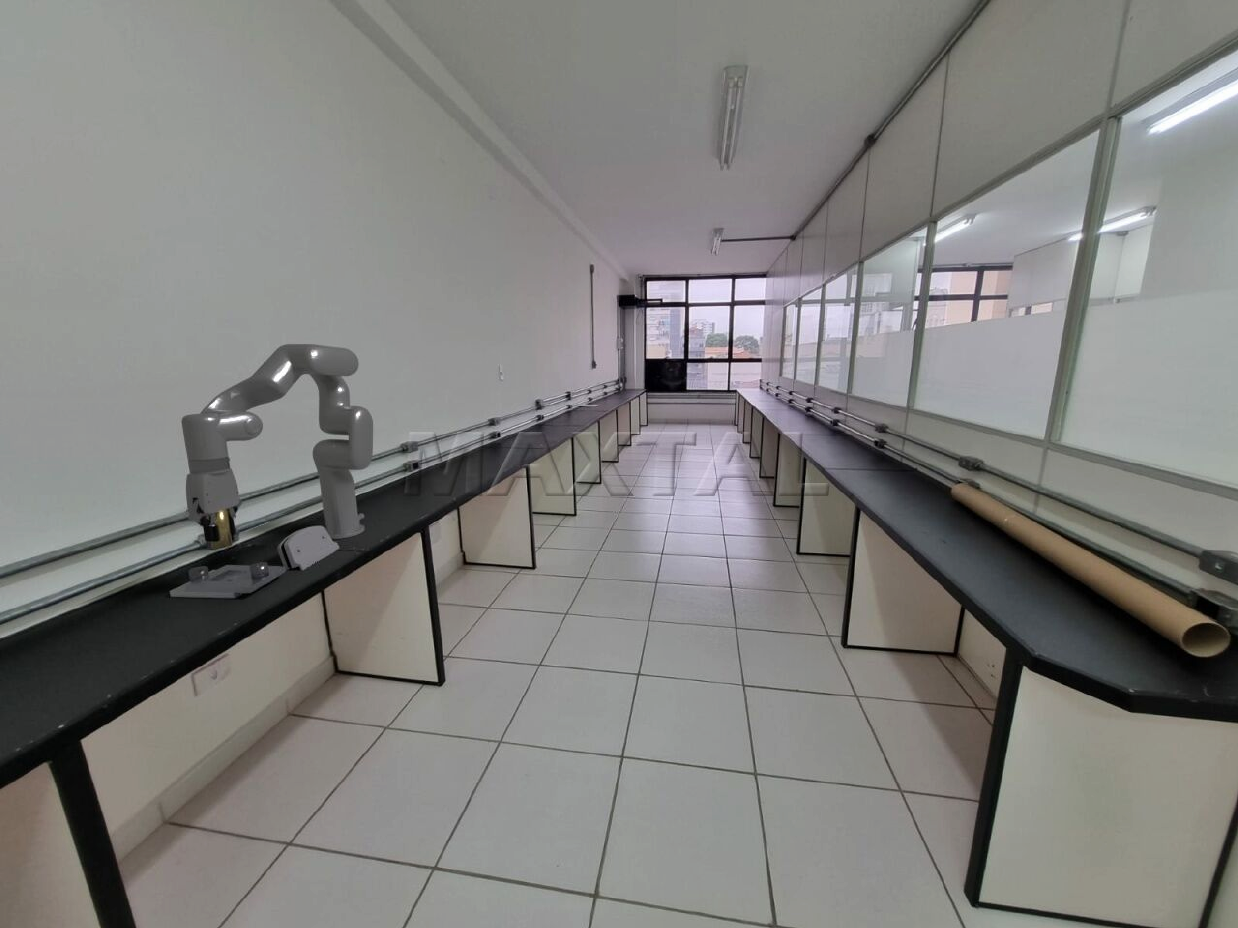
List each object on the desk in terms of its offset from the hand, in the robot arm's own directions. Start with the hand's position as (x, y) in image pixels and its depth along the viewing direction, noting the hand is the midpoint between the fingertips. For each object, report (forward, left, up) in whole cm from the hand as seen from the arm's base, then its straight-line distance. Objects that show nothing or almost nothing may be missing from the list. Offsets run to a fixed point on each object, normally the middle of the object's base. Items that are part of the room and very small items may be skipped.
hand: (221, 537), depth 118 cm
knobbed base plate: (0, 0, -13) cm, 13 cm away
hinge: (-19, +8, -14) cm, 25 cm away
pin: (0, 0, -2) cm, 2 cm away
